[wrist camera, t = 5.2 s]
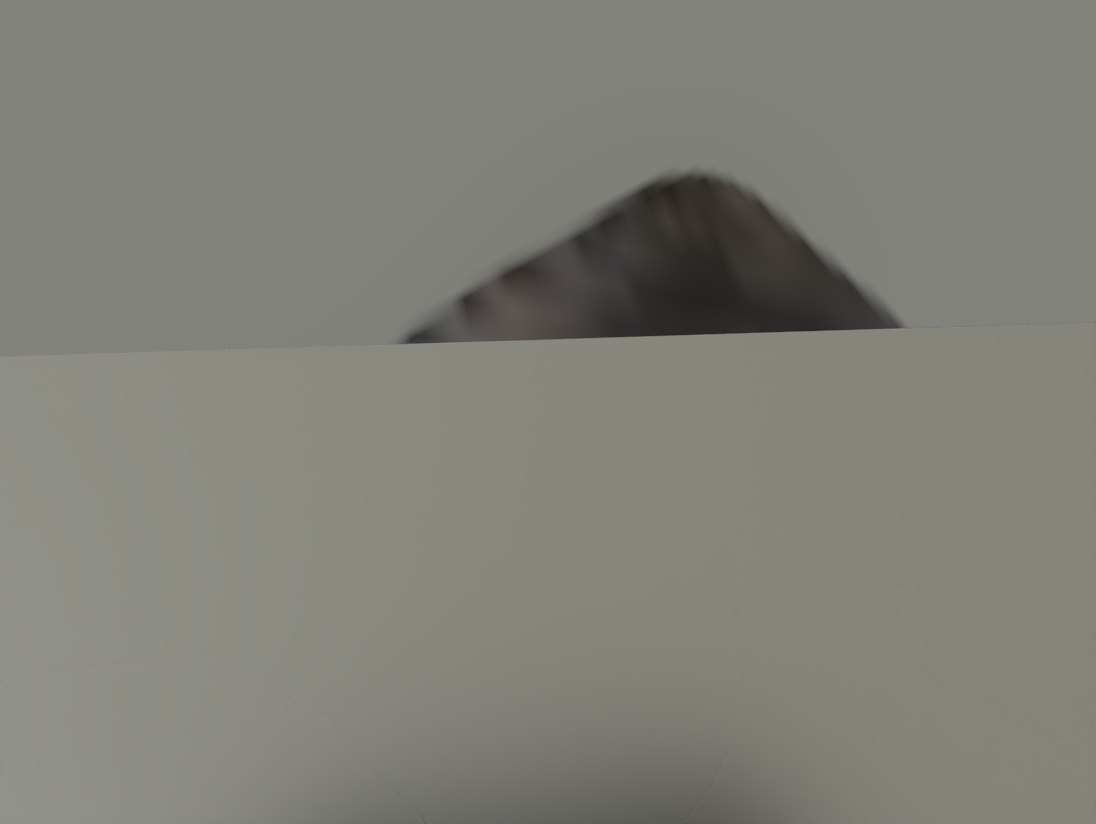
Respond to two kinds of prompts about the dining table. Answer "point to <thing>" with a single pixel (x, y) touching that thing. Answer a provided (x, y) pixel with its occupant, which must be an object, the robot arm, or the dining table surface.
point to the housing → (554, 581)
